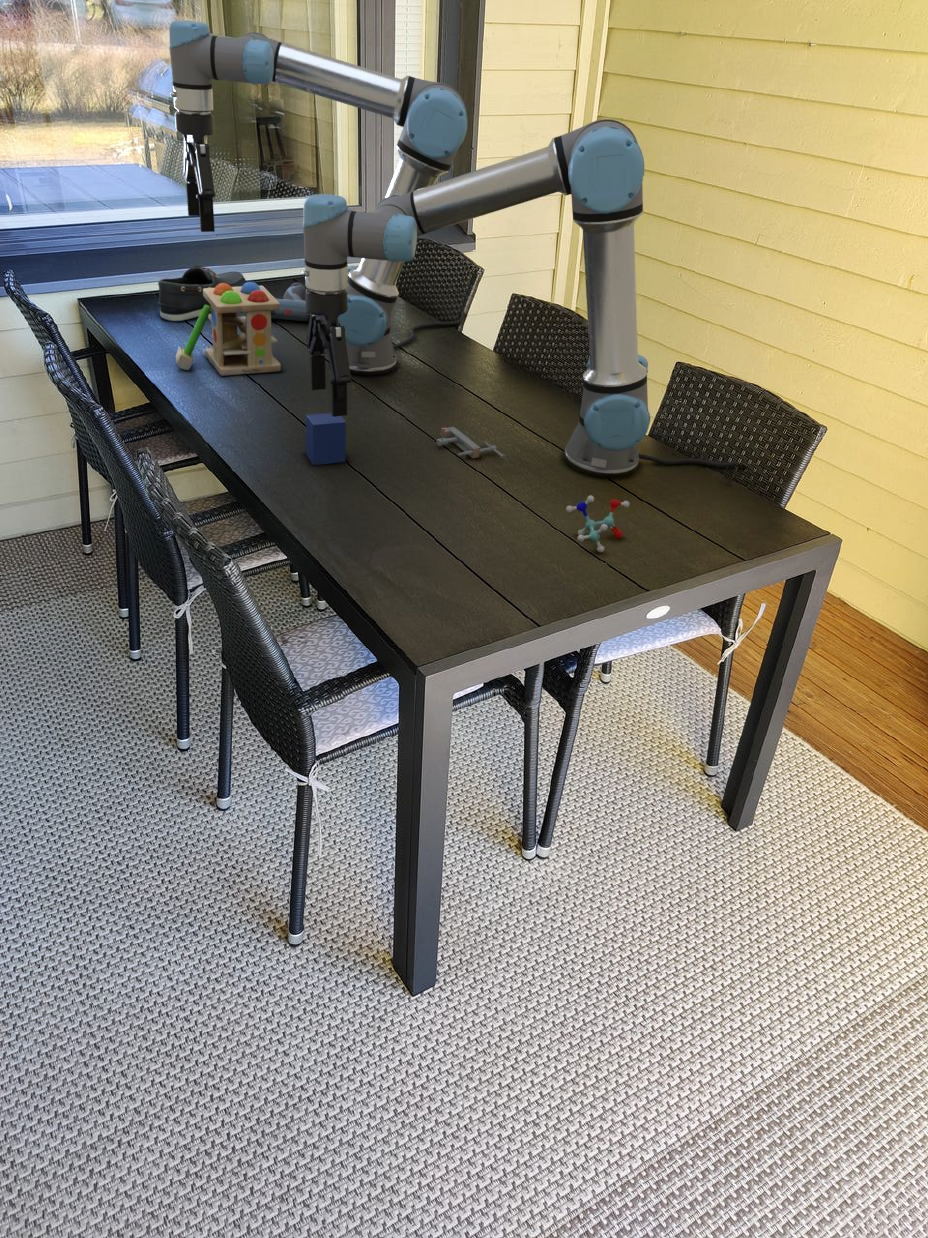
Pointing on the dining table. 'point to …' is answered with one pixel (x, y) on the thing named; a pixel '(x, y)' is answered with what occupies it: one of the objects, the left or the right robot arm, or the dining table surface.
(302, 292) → the power drill
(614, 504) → the molecular model
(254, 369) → the pounding bench toy
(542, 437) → the dining table surface
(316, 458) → the block
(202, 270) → the boat shoe
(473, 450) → the clamp
